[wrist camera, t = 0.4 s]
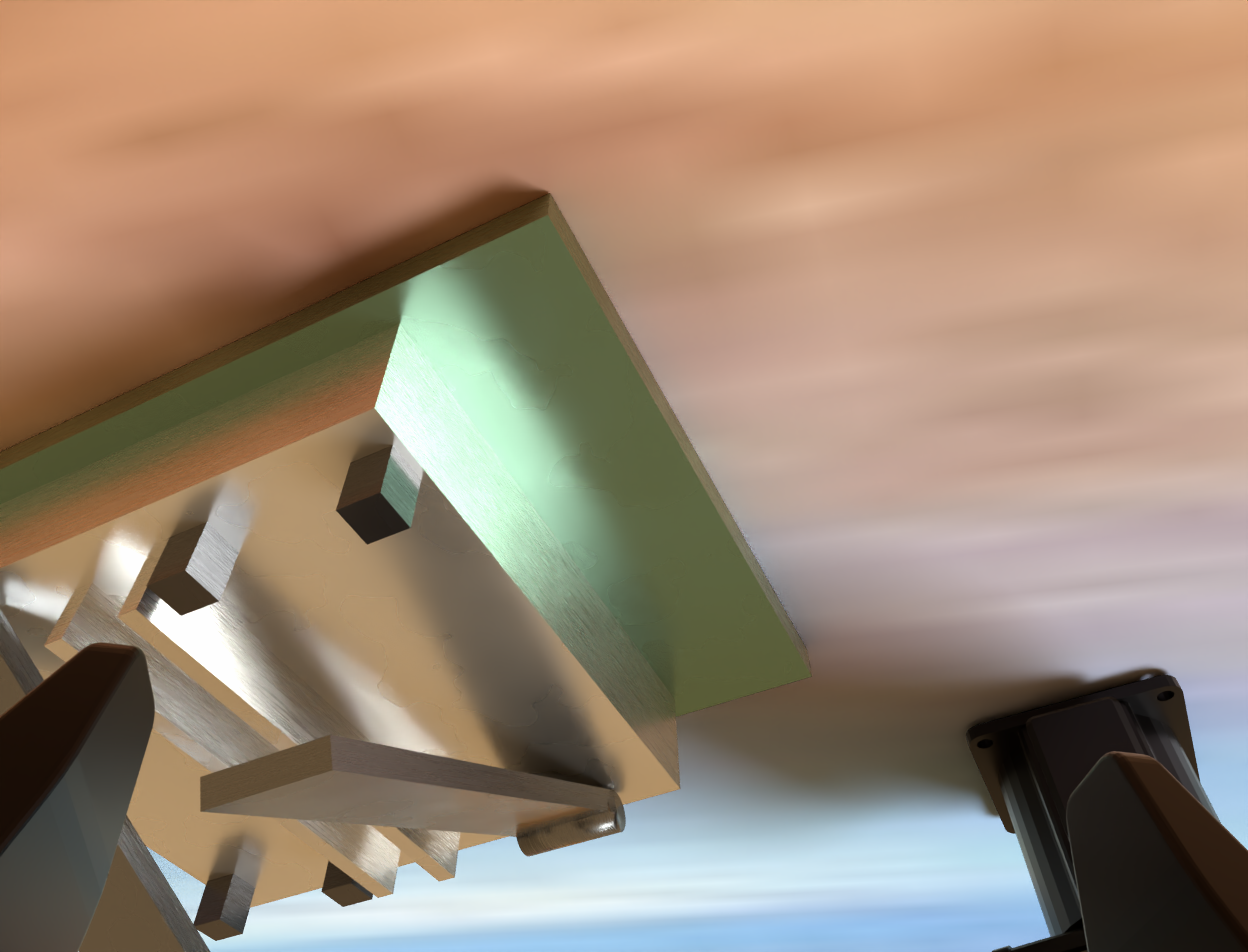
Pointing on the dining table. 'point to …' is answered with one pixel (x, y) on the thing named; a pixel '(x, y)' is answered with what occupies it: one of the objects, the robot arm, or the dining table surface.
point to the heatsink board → (541, 428)
